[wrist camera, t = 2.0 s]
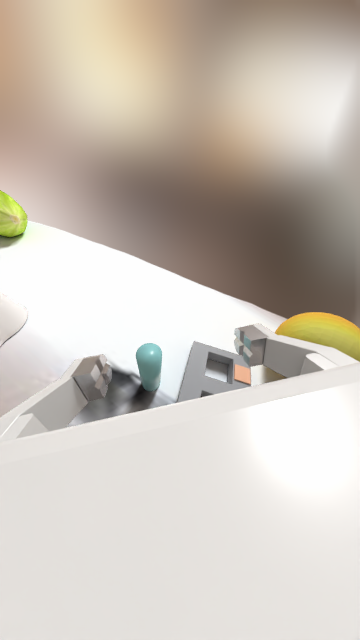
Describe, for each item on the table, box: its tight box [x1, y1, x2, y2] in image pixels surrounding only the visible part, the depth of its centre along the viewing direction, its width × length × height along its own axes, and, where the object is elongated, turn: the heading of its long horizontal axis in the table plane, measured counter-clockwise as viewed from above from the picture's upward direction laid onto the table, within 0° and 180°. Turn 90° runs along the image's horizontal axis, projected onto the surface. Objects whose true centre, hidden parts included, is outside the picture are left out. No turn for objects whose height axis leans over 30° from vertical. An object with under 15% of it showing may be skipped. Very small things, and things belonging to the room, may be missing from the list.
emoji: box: [275, 312, 360, 362], centre depth 31 cm, size 16×16×15 cm
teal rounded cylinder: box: [136, 343, 162, 391], centre depth 25 cm, size 4×4×12 cm
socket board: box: [177, 341, 251, 403], centre depth 29 cm, size 13×17×3 cm
